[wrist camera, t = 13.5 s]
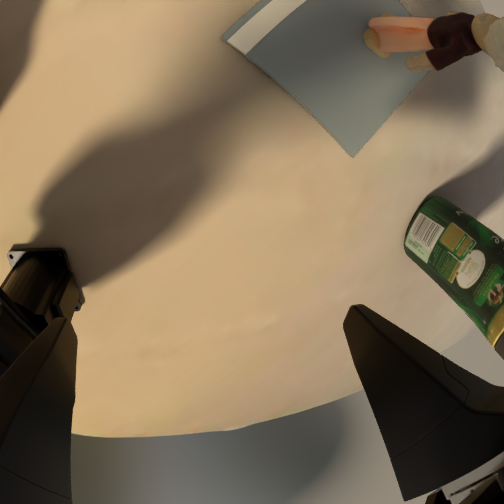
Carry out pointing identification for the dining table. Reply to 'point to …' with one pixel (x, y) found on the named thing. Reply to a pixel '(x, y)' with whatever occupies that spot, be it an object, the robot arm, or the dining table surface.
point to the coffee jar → (462, 263)
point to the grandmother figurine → (437, 38)
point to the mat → (328, 61)
